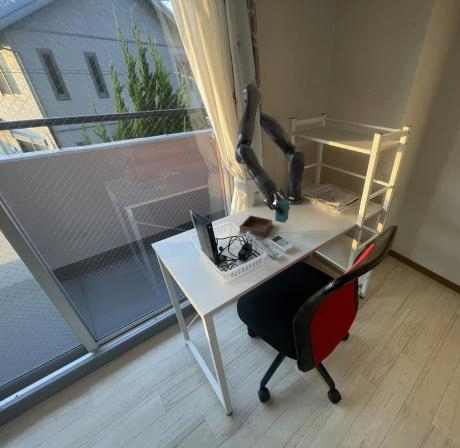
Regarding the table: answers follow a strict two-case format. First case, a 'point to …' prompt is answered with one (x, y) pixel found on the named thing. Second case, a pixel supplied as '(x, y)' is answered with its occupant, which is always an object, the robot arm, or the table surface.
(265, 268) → the table surface
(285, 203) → the block
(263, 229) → the box
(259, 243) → the caliper
